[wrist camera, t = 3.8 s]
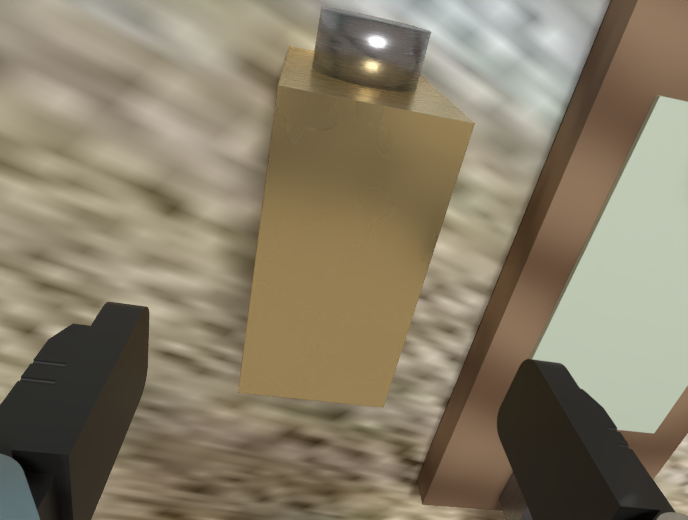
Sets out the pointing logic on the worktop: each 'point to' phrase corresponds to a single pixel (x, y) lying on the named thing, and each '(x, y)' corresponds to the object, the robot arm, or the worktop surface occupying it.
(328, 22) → the coupling block
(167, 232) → the worktop surface
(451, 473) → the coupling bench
